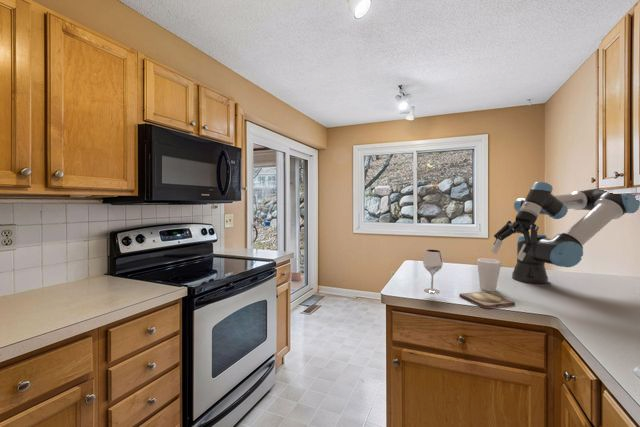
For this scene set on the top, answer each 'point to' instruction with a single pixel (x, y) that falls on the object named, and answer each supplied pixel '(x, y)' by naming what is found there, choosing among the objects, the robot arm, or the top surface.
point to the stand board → (486, 299)
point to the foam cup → (488, 273)
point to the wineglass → (432, 266)
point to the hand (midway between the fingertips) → (505, 255)
